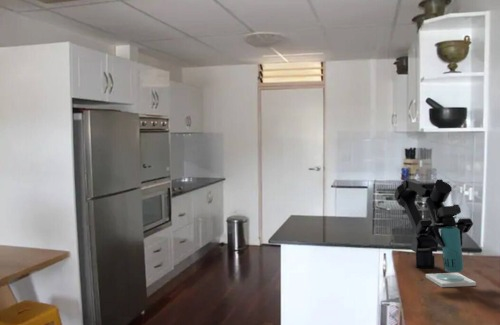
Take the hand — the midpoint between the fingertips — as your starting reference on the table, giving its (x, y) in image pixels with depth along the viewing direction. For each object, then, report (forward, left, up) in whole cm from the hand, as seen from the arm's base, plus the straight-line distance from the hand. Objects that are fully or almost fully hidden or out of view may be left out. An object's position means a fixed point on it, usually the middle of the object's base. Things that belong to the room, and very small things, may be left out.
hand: (452, 246), depth 148 cm
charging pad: (-1, +3, -13) cm, 13 cm away
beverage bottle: (0, +2, -10) cm, 10 cm away
